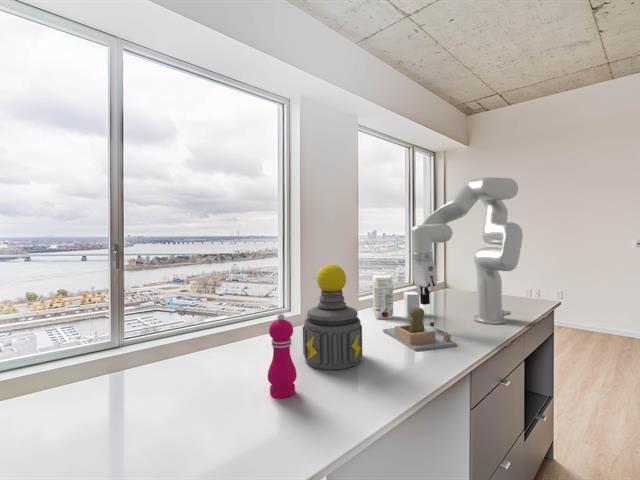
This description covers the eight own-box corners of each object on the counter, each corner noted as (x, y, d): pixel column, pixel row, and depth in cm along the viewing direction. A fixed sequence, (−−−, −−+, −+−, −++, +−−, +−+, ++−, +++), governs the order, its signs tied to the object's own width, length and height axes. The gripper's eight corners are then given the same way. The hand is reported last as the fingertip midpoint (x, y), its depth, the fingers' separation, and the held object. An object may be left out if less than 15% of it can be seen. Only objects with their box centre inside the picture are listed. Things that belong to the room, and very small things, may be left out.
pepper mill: (285, 402, 86) (283, 318, 86) (262, 395, 90) (260, 315, 90) (302, 390, 93) (300, 312, 92) (280, 384, 96) (278, 309, 96)
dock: (419, 327, 148) (419, 316, 148) (456, 345, 125) (456, 332, 125) (383, 331, 144) (382, 320, 143) (414, 351, 120) (414, 337, 120)
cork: (427, 336, 132) (426, 306, 132) (424, 341, 127) (424, 310, 126) (410, 335, 135) (409, 305, 134) (406, 339, 129) (406, 309, 129)
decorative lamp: (336, 377, 101) (334, 268, 100) (290, 361, 113) (288, 265, 112) (375, 358, 114) (373, 263, 114) (330, 346, 127) (328, 260, 126)
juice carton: (394, 319, 163) (393, 276, 162) (374, 319, 163) (374, 277, 162) (391, 315, 170) (390, 274, 170) (372, 315, 170) (372, 275, 170)
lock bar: (431, 332, 138) (431, 321, 138) (447, 339, 128) (447, 327, 128) (427, 332, 138) (427, 321, 137) (443, 340, 128) (443, 328, 128)
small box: (419, 317, 165) (419, 294, 165) (407, 317, 165) (407, 294, 165) (415, 313, 173) (415, 291, 173) (403, 313, 173) (403, 291, 173)
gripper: (442, 257, 135) (445, 306, 136) (420, 255, 150) (423, 299, 150) (425, 259, 133) (427, 309, 134) (404, 256, 147) (406, 301, 148)
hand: (425, 303), depth 142 cm, fingers closed
